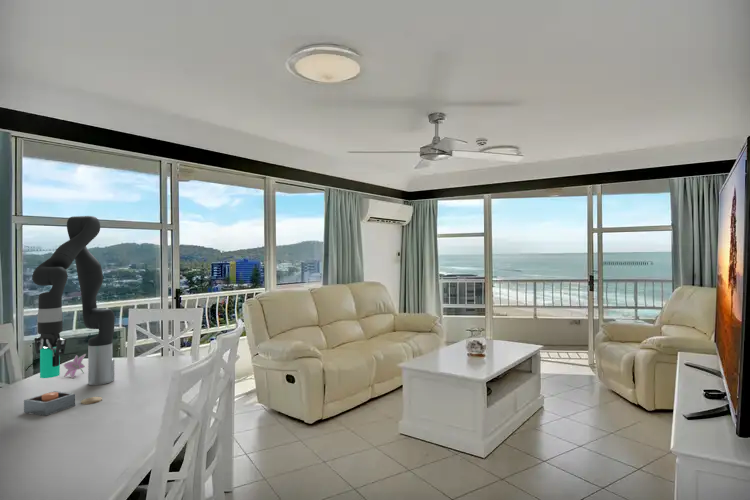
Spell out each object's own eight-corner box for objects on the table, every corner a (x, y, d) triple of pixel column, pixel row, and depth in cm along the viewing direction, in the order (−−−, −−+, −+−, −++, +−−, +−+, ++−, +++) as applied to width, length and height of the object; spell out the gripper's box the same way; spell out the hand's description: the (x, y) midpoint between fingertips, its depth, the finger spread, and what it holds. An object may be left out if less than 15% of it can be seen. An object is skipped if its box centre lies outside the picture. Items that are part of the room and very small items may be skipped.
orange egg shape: (52, 398, 165) (52, 391, 165) (61, 399, 163) (61, 392, 163) (38, 402, 160) (38, 395, 160) (47, 403, 158) (47, 396, 158)
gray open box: (54, 402, 168) (54, 391, 168) (75, 405, 165) (75, 393, 165) (23, 412, 158) (23, 400, 158) (45, 415, 155) (45, 403, 155)
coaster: (93, 397, 174) (93, 396, 174) (106, 399, 172) (106, 397, 172) (76, 403, 167) (76, 401, 167) (89, 405, 165) (89, 403, 165)
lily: (64, 375, 210) (55, 361, 206) (90, 362, 217) (83, 348, 212) (70, 388, 202) (61, 373, 198) (97, 374, 209) (89, 359, 205)
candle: (49, 378, 158) (49, 345, 158) (35, 377, 159) (35, 345, 159) (63, 374, 164) (64, 342, 164) (50, 373, 165) (50, 341, 165)
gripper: (73, 319, 163) (73, 364, 163) (47, 317, 168) (47, 362, 168) (53, 322, 156) (53, 369, 156) (26, 320, 161) (26, 366, 160)
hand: (50, 365), depth 162 cm, fingers closed on candle, 5 cm apart
